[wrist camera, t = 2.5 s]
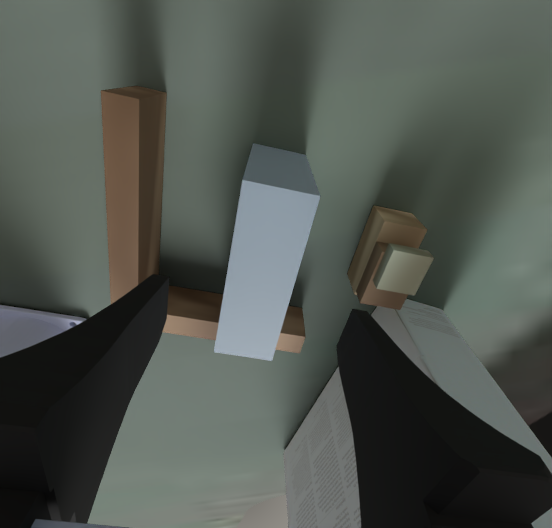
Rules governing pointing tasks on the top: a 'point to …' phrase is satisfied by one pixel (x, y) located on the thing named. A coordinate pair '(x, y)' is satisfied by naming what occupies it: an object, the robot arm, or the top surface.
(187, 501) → the top surface
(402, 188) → the top surface
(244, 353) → the light blue block
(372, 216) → the offcut stack
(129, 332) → the robot arm
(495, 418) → the skincare box
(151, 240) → the brown wooden l-shape
